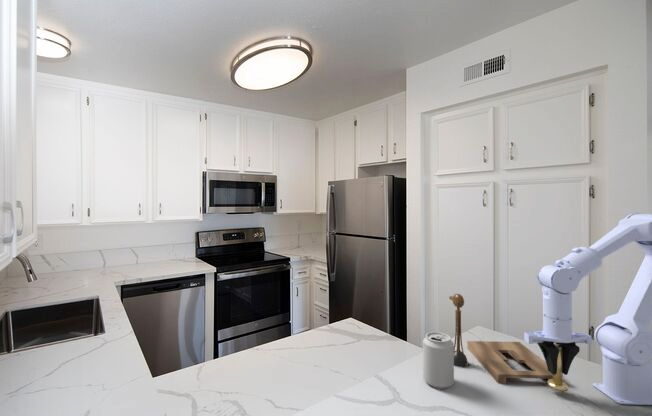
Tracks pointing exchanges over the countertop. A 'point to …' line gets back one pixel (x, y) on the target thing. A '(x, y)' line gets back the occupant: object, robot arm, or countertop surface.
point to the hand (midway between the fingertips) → (557, 372)
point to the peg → (558, 373)
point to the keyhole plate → (497, 363)
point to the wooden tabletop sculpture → (458, 332)
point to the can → (438, 360)
